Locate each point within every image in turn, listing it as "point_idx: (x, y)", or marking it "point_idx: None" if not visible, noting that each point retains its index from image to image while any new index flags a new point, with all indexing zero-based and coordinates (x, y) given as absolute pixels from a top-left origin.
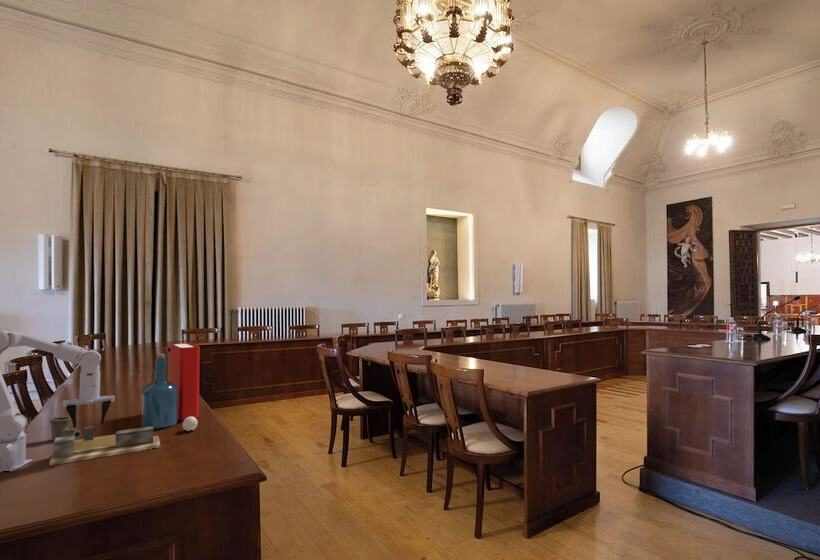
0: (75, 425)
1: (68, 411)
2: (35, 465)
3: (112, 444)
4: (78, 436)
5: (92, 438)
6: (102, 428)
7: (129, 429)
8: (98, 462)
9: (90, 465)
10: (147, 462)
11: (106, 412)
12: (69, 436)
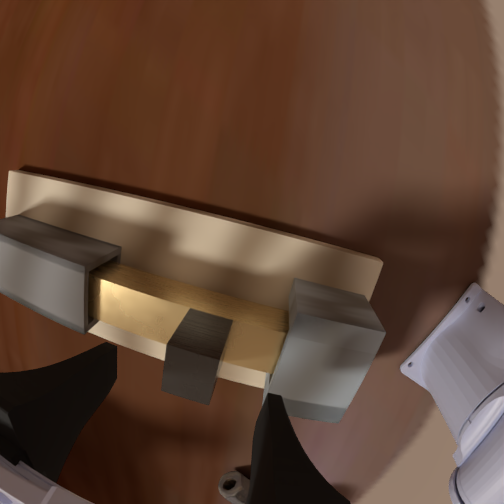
0: (270, 401)
1: (336, 497)
2: (409, 305)
3: (123, 266)
4: (227, 478)
5: (190, 312)
6: (164, 500)
7: (40, 310)
8: (210, 134)
9: (245, 115)
10: (86, 20)
11: (37, 369)
12: (288, 401)
